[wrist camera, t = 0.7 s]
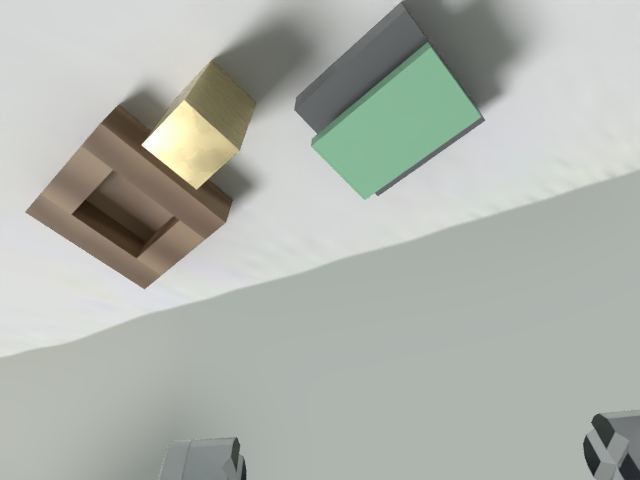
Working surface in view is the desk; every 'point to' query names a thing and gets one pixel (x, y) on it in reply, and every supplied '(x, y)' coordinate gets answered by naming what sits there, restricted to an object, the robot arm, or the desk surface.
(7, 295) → the desk surface
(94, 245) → the brown square frame
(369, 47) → the block
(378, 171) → the button
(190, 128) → the block
